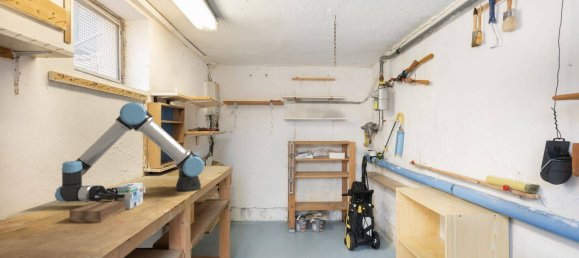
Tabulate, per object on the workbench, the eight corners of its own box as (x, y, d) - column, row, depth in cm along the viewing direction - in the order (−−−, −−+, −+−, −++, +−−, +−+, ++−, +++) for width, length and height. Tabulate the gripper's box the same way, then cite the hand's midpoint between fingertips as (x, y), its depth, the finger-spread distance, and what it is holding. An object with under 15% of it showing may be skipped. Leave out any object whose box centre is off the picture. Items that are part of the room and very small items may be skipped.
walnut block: (125, 211, 121) (125, 201, 121) (100, 223, 106) (100, 211, 106) (97, 211, 121) (97, 200, 121) (69, 222, 106) (69, 210, 106)
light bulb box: (130, 209, 123) (130, 186, 123) (116, 209, 123) (116, 186, 123) (143, 203, 134) (143, 182, 134) (130, 203, 134) (130, 182, 134)
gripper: (108, 195, 139) (150, 194, 140) (74, 208, 116) (125, 207, 117) (108, 181, 139) (150, 180, 140) (74, 191, 116) (125, 190, 117)
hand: (138, 192), depth 129 cm, fingers closed on light bulb box, 11 cm apart
